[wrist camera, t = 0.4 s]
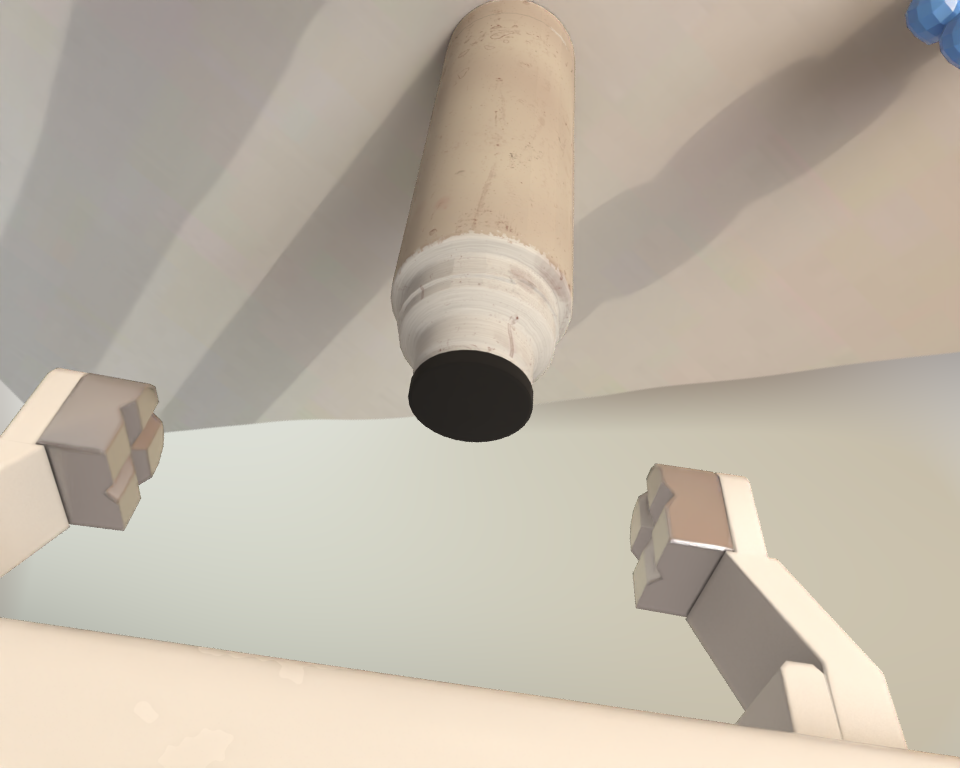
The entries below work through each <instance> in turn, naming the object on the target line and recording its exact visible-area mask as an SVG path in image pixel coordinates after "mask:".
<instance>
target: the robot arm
mask: <svg viewBox="0 0 960 768" xmlns="http://www.w3.org/2000/svg"><path fill="white" fill-rule="evenodd" d="M158 402H159V401H158V396H157V392H156V387H155V386H153V385H151V384H148V383H142V382H137V381H131V380H126V379H120V378H115V377H110V376H104V375H99V374H93V373H84V372H79V371H73V370H68V369H63V368H56V369H54V370H52V371H50V372H49V373H48V374H47V375H46V376H45V377H44V379H43V380H42V381H41V383H40V384H39V385H38V387H37V388H36V389H35V391H34V392H33V393H32V395H31V396H30V397H29V399H28V400H27V401H26V403H25V404H24V405H23V407H22V408H21V409H20V411H19V412H18V413H17V415H16V416H15V417H14V419H13V420H12V421H11V423H10V424H9V426H8V427H7V428H6V429H5V430H4V432H3V433H2V434H1V436H0V578H1V577H2V576H4V575H5V574H6V573H8V572H9V571H11V570H12V569H13V568H15V567H16V566H17V565H19V564H20V563H21V562H23V561H24V560H25V559H27V558H28V557H29V556H31V555H32V554H34V553H35V552H36V551H38V550H39V549H40V548H42V547H43V546H45V545H46V544H47V543H49V542H50V541H51V540H53V539H54V538H56V537H57V536H58V535H60V534H61V533H62V532H64V531H65V530H66V529H68V528H69V527H70V526H69V524H73V525H81V526H90V527H97V528H105V529H113V530H122V531H124V530H125V528H126V526H127V524H128V522H129V520H130V518H131V516H132V515H133V513H134V511H135V509H136V507H137V505H138V503H139V501H140V499H141V496H140V491H139V486H138V485H140V484H141V483H143V482H145V481H146V480H148V479H150V478H151V477H152V476H153V474H154V472H155V470H156V468H157V466H158V464H159V460H160V457H161V453H162V449H163V441H164V430H163V424H162V421H161V420H160V419H159V418H158V417H157V416H156V415H155V414H154V413H153V411H154V410H155V408H156V406H157V404H158ZM647 490H648V491H647V492H645V493H644V494H642V495H640V496H639V497H638V500H637V502H636V505H635V507H634V510H633V515H632V520H631V526H630V544H631V551H632V553H633V554H634V555H635V556H636V558H637V559H638V560H639V561H638V563H637V565H636V567H635V570H634V572H633V581H634V593H635V604H636V608H638V609H644V610H649V611H655V612H661V613H667V614H673V615H678V616H683V617H687V618H686V621H687V622H688V624H689V625H690V627H691V628H692V630H693V632H694V633H695V635H696V636H697V638H698V639H699V641H700V642H701V644H702V645H703V647H704V649H705V650H706V652H707V653H708V654H709V656H710V658H711V659H712V661H713V662H714V664H715V665H716V667H717V668H718V670H719V672H720V673H721V675H722V676H723V678H724V679H725V681H726V683H727V684H728V686H729V687H730V689H731V690H732V692H733V693H734V695H735V696H736V698H737V700H738V701H739V703H740V704H741V706H742V707H743V709H744V710H745V712H744V714H743V715H742V716H741V717H740V718H739V720H738V721H737V722H736V724H730V723H723V722H716V721H709V720H702V719H696V718H688V717H682V716H674V715H668V714H661V713H655V712H648V711H641V710H634V709H626V708H620V707H613V706H607V705H600V704H593V703H586V702H579V701H572V700H565V699H558V698H551V697H544V696H538V695H530V694H524V693H517V692H510V691H503V690H496V689H488V688H482V687H475V686H468V685H461V684H454V683H447V682H441V681H434V680H427V679H419V678H413V677H405V676H399V675H392V674H384V673H378V672H371V671H365V670H358V669H351V668H344V667H338V666H331V665H324V664H317V663H310V662H303V661H297V660H289V659H282V658H276V657H269V656H262V655H255V654H249V653H242V652H235V651H228V650H221V649H215V648H208V647H201V646H194V645H187V644H180V643H173V642H167V641H160V640H153V639H146V638H139V637H132V636H125V635H118V634H112V633H105V632H98V631H91V630H84V629H77V628H70V627H63V626H56V625H50V624H43V623H35V622H29V621H22V620H16V619H8V618H2V617H0V768H960V757H956V756H949V755H942V754H935V753H929V752H922V751H915V750H908V747H907V744H906V741H905V738H904V735H903V732H902V729H901V726H900V723H899V719H898V716H897V714H896V710H895V707H894V704H893V701H892V698H891V695H890V692H889V689H888V686H887V683H886V680H885V677H884V674H883V673H882V671H881V670H880V669H879V668H878V667H877V666H876V665H875V664H874V663H873V662H872V661H871V660H870V658H869V657H868V656H867V655H866V654H865V653H864V652H863V651H862V650H861V649H860V648H859V647H858V646H857V645H856V643H854V642H853V640H852V639H851V638H850V637H849V636H848V635H847V634H846V633H845V632H844V630H843V629H841V627H840V626H839V625H838V624H837V623H836V622H835V621H834V620H833V619H832V618H831V616H830V615H829V614H828V613H827V612H826V611H825V610H824V609H823V608H822V607H821V606H820V605H819V604H818V602H817V601H816V600H815V599H814V598H813V597H812V596H811V595H810V594H809V593H808V592H807V591H806V590H805V588H804V587H803V586H802V585H801V584H800V583H799V582H798V581H797V580H796V579H795V578H794V577H793V576H792V575H791V573H790V572H789V571H788V570H787V569H786V568H785V567H784V566H783V565H782V564H781V563H780V562H779V561H778V559H774V558H769V557H768V554H767V550H766V546H765V542H764V538H763V534H762V530H761V526H760V522H759V518H758V514H757V510H756V506H755V502H754V498H753V494H752V490H751V486H750V482H749V481H748V479H747V478H746V477H743V476H737V475H730V474H724V473H713V472H710V471H703V470H696V469H690V468H683V467H676V466H669V465H662V464H655V465H654V466H653V467H652V468H651V470H650V472H649V474H648V476H647Z"/></svg>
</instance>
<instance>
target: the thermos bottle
mask: <svg viewBox="0 0 960 768" xmlns="http://www.w3.org/2000/svg"><path fill="white" fill-rule="evenodd" d="M574 103H575V57H574V50H573V45H572V42H571V40H570V37H569V34H568V33H567V31H566V30H565V28H564V26H563V25H562V23H561V22H560V21H559V20H558V19H557V18H556V17H555V16H554V15H553V14H552V13H550V12H549V11H547V10H546V9H545V8H543V7H541V6H539V5H537V4H535V3H532V2H530V1H525V0H494V1H490V2H488V3H485V4H483V5H481V6H478V7H477V8H475V9H474V10H473V11H471V12H470V13H468V14H467V15H466V16H465V17H464V18H463V19H462V20H461V21H460V22H459V24H458V25H457V27H456V29H455V30H454V32H453V34H452V36H451V39H450V42H449V44H448V48H447V52H446V56H445V60H444V64H443V69H442V75H441V79H440V83H439V87H438V91H437V95H436V99H435V103H434V108H433V112H432V116H431V121H430V125H429V130H428V134H427V138H426V143H425V147H424V151H423V155H422V159H421V163H420V167H419V172H418V176H417V180H416V184H415V189H414V193H413V197H412V202H411V206H410V210H409V214H408V219H407V223H406V227H405V231H404V236H403V240H402V244H401V248H400V253H399V257H398V261H397V266H396V270H395V274H394V278H393V283H392V291H391V303H392V309H393V313H394V316H395V318H396V321H397V326H398V333H399V341H400V348H401V350H402V352H403V355H404V357H405V359H406V360H407V362H408V363H409V364H410V366H411V367H412V368H413V376H412V378H411V383H410V389H409V395H408V399H409V405H410V408H411V410H412V412H413V414H414V415H415V416H416V418H417V419H418V420H419V421H420V422H421V423H422V424H423V425H425V426H426V427H428V428H429V429H431V430H432V431H434V432H436V433H438V434H440V435H442V436H445V437H448V438H451V439H455V440H460V441H466V442H487V441H493V440H498V439H502V438H504V437H507V436H510V435H511V434H513V433H515V432H517V431H518V430H519V429H521V428H522V427H523V426H524V425H525V424H526V422H527V421H528V420H529V418H530V415H531V413H532V408H533V389H532V383H534V382H535V381H536V380H537V379H539V378H540V377H541V376H542V375H543V374H544V373H545V371H546V370H547V369H548V367H549V366H550V364H551V361H552V359H553V356H554V353H555V347H556V344H557V343H558V342H559V341H560V340H561V338H562V337H563V335H564V334H565V332H566V331H567V328H568V325H569V323H570V320H571V317H572V305H573V219H574Z"/></svg>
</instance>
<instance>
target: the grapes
mask: <svg viewBox="0 0 960 768" xmlns="http://www.w3.org/2000/svg"><path fill="white" fill-rule="evenodd" d="M905 17H906V23H907V27H908V29H909V30H910V31H911V32H912V33H913V35H914V36H915V37H917V38H918V39H920V40H921V41H923V42H924V43H926V44H927V45H931V44H933V43H936V42H938V41H939V45H940V52H941V53H942V54H943V56H944V57H945V58H946V59H947V61H948V62H949V63H951V64H952V65H954V66H955V67H957V68H958V69H960V0H912V1H911V3H910V5H909V7H908V9H907V12H906V14H905Z"/></svg>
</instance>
